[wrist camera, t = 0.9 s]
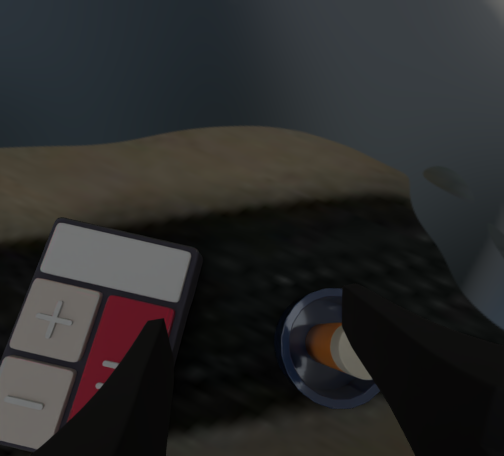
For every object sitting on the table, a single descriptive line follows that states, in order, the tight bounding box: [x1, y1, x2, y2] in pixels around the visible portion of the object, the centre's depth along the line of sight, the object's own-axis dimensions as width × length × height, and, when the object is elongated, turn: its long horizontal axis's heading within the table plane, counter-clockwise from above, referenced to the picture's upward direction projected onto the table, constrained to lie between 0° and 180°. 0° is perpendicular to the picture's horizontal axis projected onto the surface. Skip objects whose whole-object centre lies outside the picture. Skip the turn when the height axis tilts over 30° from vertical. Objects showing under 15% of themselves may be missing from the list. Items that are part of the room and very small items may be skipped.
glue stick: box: [305, 323, 373, 380], centre depth 22 cm, size 3×3×8 cm
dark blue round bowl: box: [274, 288, 380, 409], centre depth 25 cm, size 8×8×4 cm
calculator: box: [0, 217, 203, 452], centre depth 24 cm, size 11×4×15 cm
